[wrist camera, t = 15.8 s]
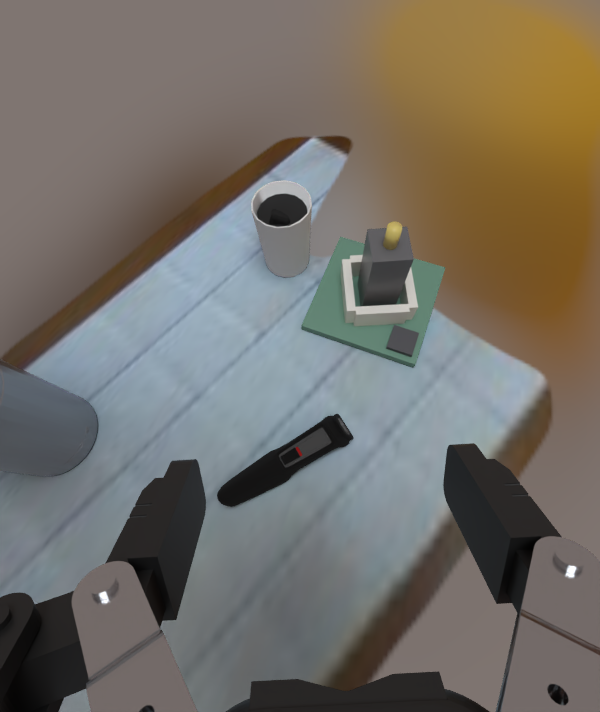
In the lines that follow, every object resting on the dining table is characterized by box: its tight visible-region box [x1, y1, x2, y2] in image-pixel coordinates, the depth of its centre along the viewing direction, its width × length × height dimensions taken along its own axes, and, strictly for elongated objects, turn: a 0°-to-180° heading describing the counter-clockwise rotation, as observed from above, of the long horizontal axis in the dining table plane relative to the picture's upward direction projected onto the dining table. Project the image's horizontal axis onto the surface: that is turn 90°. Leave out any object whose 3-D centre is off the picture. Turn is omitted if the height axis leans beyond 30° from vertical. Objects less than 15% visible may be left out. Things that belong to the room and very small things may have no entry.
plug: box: [357, 222, 414, 306], centre depth 41 cm, size 4×4×12 cm
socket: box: [341, 255, 418, 326], centre depth 46 cm, size 8×8×3 cm
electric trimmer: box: [217, 414, 353, 507], centre depth 40 cm, size 4×15×3 cm, turn 120°
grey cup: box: [251, 180, 312, 278], centre depth 46 cm, size 7×7×10 cm
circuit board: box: [302, 237, 445, 367], centre depth 47 cm, size 14×14×2 cm
